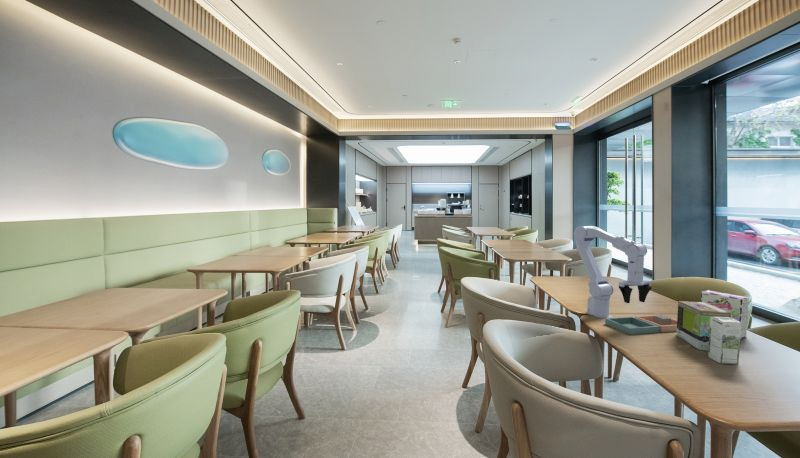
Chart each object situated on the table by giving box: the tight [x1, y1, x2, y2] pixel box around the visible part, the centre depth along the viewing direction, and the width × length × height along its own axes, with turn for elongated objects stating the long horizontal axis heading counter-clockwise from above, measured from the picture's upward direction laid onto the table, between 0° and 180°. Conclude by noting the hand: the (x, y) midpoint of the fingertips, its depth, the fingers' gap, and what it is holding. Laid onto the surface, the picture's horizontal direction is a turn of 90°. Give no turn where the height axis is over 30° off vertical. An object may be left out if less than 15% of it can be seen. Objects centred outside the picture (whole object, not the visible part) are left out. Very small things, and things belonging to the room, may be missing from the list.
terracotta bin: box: [634, 314, 677, 333], centre depth 156 cm, size 14×14×3 cm
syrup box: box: [707, 317, 741, 365], centre depth 121 cm, size 6×6×14 cm
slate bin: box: [604, 316, 660, 336], centre depth 153 cm, size 14×14×3 cm
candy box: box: [700, 289, 750, 340], centre depth 148 cm, size 14×6×16 cm, turn 25°
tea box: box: [676, 300, 731, 352], centre depth 136 cm, size 15×10×15 cm, turn 168°
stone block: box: [652, 314, 671, 326], centre depth 155 cm, size 5×4×4 cm
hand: (634, 302), depth 157 cm, fingers open, 7 cm apart
